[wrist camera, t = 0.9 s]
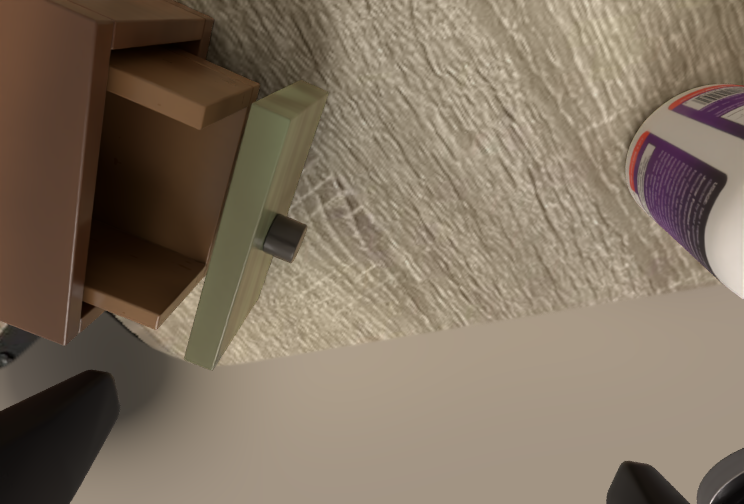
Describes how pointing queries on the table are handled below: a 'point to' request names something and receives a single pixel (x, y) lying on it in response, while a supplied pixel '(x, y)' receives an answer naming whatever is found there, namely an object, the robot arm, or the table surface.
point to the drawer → (194, 191)
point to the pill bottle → (696, 176)
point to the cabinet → (63, 142)
